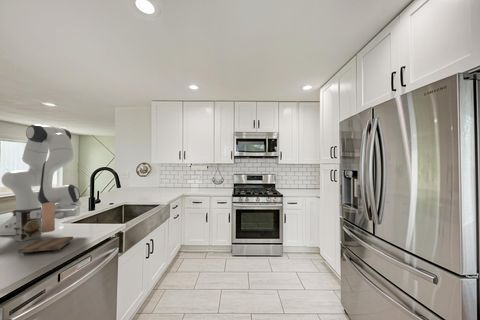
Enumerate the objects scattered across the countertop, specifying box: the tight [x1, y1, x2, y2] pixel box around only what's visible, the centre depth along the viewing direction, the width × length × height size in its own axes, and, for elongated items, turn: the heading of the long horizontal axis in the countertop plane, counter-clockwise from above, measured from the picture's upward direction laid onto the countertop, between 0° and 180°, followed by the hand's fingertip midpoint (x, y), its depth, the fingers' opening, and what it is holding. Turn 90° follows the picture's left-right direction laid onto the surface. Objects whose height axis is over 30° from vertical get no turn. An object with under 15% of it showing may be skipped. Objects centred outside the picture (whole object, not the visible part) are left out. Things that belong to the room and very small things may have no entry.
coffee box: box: [14, 209, 42, 242], centre depth 124 cm, size 9×6×16 cm
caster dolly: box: [17, 236, 74, 256], centre depth 108 cm, size 16×14×4 cm
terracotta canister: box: [41, 202, 56, 234], centre depth 108 cm, size 5×5×14 cm
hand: (47, 216), depth 108 cm, fingers closed on terracotta canister, 5 cm apart
